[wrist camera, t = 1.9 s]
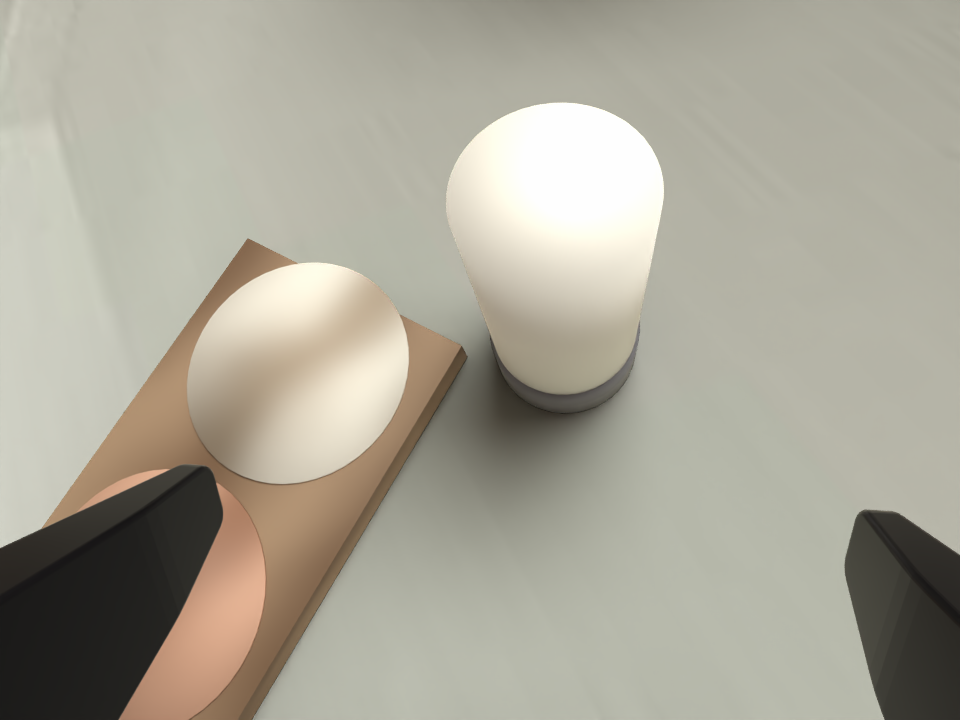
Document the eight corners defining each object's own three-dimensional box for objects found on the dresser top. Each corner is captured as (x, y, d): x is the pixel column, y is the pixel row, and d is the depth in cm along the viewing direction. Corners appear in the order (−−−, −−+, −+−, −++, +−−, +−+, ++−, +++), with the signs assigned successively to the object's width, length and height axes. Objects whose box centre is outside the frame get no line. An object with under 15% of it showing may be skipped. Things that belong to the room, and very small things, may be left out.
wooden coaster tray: (476, 341, 25) (470, 328, 23) (203, 801, 21) (179, 814, 20) (271, 239, 27) (256, 222, 26) (-2, 627, 24) (-34, 630, 22)
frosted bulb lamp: (659, 317, 24) (707, 143, 14) (595, 438, 23) (603, 333, 13) (537, 263, 25) (509, 72, 16) (472, 374, 24) (400, 239, 15)
